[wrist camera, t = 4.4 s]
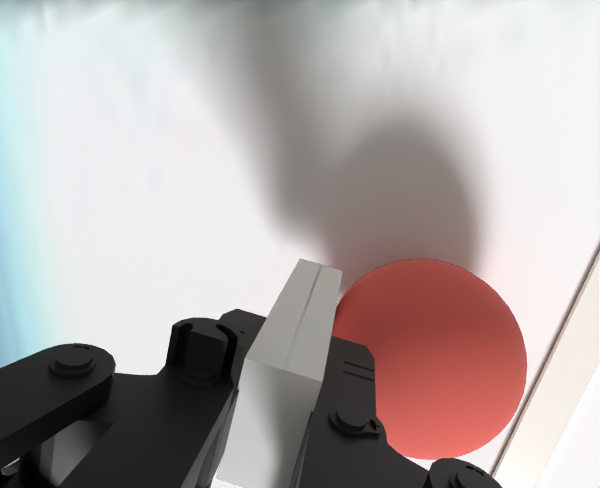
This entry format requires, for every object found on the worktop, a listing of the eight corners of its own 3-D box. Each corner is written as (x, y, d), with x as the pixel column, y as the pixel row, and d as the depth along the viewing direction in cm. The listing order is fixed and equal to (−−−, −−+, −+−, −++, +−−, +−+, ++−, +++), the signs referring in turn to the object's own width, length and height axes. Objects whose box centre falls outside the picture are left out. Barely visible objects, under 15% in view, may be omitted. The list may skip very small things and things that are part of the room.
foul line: (478, 502, 18) (480, 506, 18) (634, 178, 14) (638, 178, 14) (516, 514, 18) (518, 518, 18) (682, 191, 14) (686, 192, 14)
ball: (305, 361, 17) (300, 480, 11) (349, 219, 16) (369, 273, 10) (448, 399, 17) (514, 534, 12) (506, 263, 16) (614, 340, 10)
